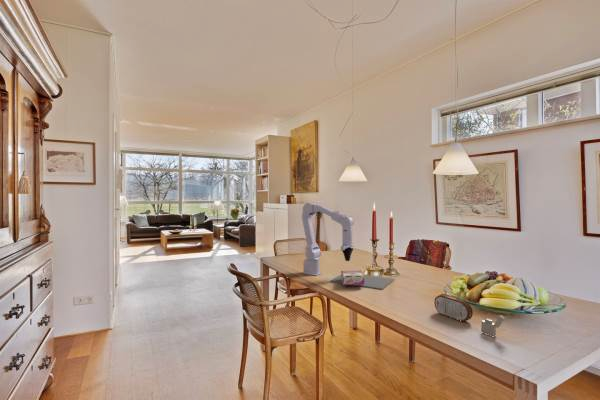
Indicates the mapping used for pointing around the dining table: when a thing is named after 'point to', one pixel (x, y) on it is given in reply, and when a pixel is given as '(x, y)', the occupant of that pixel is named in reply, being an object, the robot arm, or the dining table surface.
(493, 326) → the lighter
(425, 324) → the dining table surface
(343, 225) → the robot arm
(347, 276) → the candy bar box
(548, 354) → the dining table surface
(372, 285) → the slate placemat
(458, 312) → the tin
